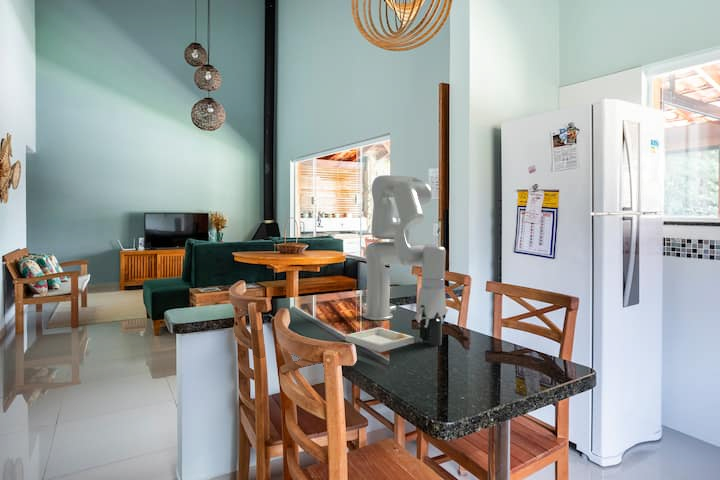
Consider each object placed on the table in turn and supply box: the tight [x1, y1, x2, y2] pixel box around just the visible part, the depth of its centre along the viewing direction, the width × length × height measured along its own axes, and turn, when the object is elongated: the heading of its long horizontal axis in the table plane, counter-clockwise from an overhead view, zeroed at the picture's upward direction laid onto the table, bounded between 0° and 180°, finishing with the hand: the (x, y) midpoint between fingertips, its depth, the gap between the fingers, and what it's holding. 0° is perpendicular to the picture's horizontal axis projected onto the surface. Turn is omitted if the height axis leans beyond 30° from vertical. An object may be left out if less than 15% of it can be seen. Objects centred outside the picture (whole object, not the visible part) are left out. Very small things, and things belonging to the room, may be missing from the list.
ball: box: [397, 332, 406, 340], centre depth 150 cm, size 3×3×3 cm
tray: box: [345, 326, 415, 353], centre depth 150 cm, size 16×16×3 cm
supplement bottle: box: [420, 312, 443, 347], centre depth 150 cm, size 7×7×12 cm
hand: (431, 336), depth 150 cm, fingers closed on supplement bottle, 6 cm apart
